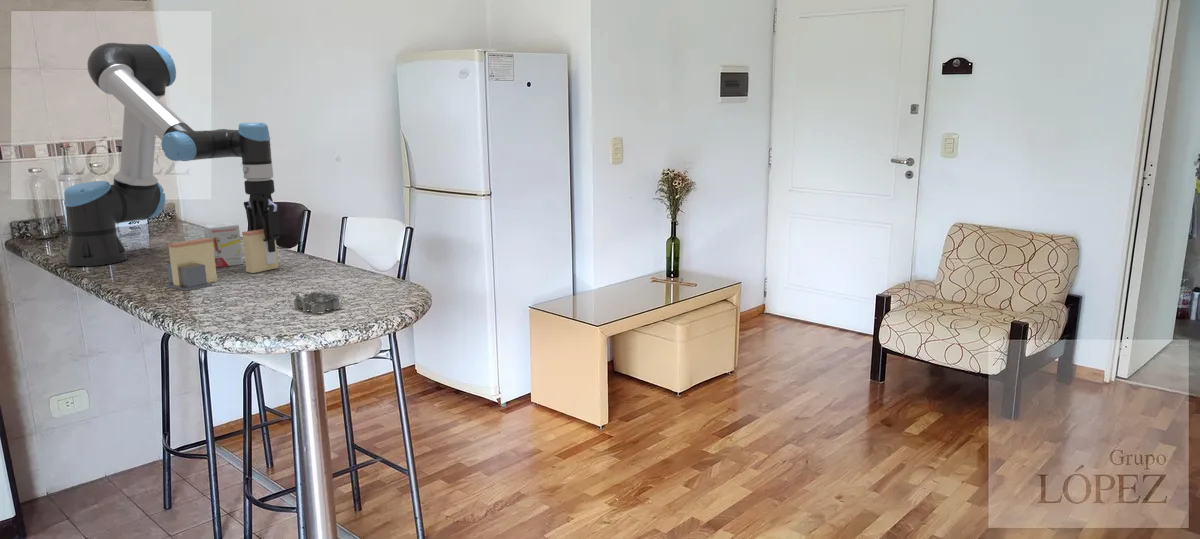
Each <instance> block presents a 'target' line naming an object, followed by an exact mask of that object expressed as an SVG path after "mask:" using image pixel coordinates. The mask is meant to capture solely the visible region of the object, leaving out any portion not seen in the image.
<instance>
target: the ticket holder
mask: <svg viewBox="0 0 1200 539" xmlns="http://www.w3.org/2000/svg"><path fill="white" fill-rule="evenodd" d="M167 247H168V252H169V260H170V263H167V264H166V269H167V278H168V282H166V283H164V284H163V285H164V287H166V288H172V289H175V290H180V291H184V292H187V291H191V290H192V291H193V290H198V289H202V288H207V287H212V286H213V283H214V282H218V276H217V268H216V265H215V257H214V248H213V239H210V238H205V237H202V238H196V239H191V240H183V241H177V242H172V243H171V242H170V243H167Z"/></svg>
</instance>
